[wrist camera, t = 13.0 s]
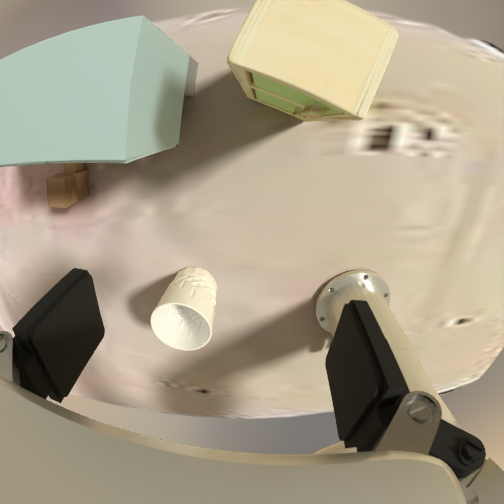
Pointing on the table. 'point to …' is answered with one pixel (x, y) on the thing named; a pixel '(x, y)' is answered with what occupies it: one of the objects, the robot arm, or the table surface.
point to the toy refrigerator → (312, 57)
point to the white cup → (186, 310)
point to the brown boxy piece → (68, 186)
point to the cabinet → (94, 95)
